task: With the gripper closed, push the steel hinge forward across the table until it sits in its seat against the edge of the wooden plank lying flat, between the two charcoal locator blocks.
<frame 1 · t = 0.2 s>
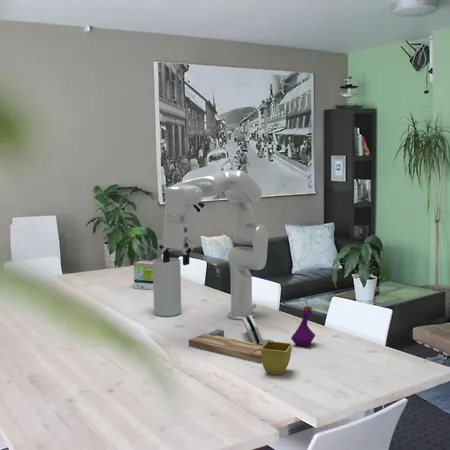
hand: (176, 263, 219), 31 cm above the table, tool pointing down, fingers open, 9 cm apart
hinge: (253, 339, 226), on the table
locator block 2: (266, 349, 212), on the table
locator block 1: (216, 339, 226), on the table
flower pot: (276, 372, 190), on the table
perfume bottle: (303, 345, 218), on the table
tea box: (150, 288, 318), on the table
cylinder vase: (167, 313, 264), on the table
wooden plank: (230, 350, 212), on the table
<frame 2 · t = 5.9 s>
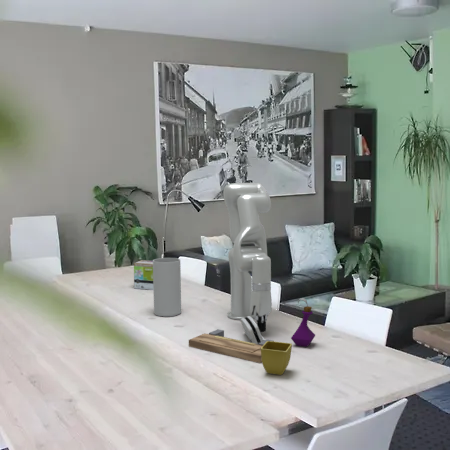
hand: (261, 331, 231), 1 cm above the table, tool pointing down, fingers closed
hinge: (253, 340, 225), on the table
everything else where it was.
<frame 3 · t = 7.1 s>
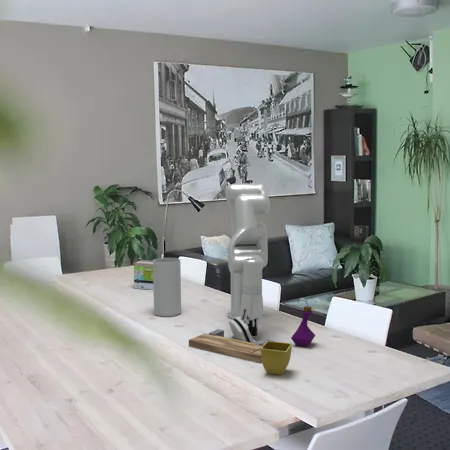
hand: (252, 335, 226), 1 cm above the table, tool pointing down, fingers closed
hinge: (242, 342, 223), on the table, touching gripper
everything else where it was.
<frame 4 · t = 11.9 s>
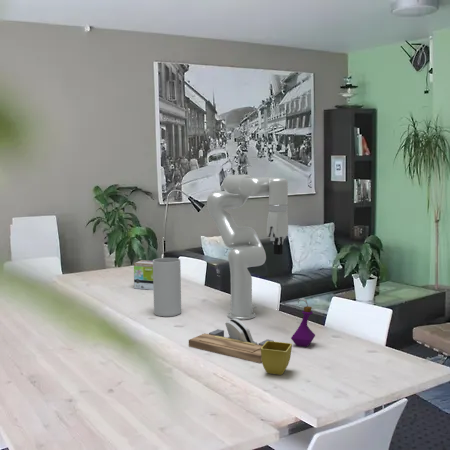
hand: (278, 253, 232), 32 cm above the table, tool pointing down, fingers closed
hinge: (240, 343, 222), on the table
everything else where it was.
at the end: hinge inside the target area (1.9 cm from its centre), on the table; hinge moved 7.0 cm from its start; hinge tilted 0° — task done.
